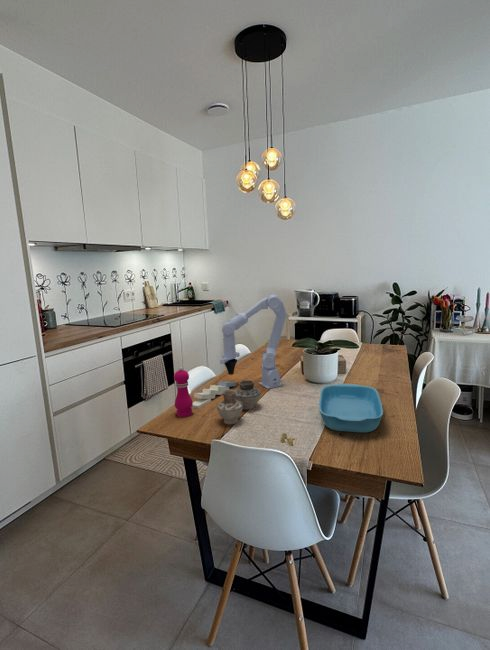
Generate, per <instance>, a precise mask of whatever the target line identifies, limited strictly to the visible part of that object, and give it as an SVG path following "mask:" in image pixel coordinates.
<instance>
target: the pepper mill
mask: <svg viewBox="0 0 490 650" xmlns="http://www.w3.org/2000/svg"><path fill="white" fill-rule="evenodd" d="M189 379H190V374H189V372H188V371H187V370H184V367H182V366H180V367H178V370H177V371H175V373H174V375H173V380H174V382H175V387H176V389H177V390H176V392H177V393H176V396H175V399H174V408H175V409H176V416H177V417H178V416H179V418H186V417H190V416H192V414H193V408H192V405H193V402H194V401H193V398H192V397H191V395H190V393H189V388H188V386H189Z"/></svg>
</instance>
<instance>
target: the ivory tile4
mask: <svg viewBox="0 0 490 650" xmlns="http://www.w3.org/2000/svg"><path fill="white" fill-rule="evenodd" d="M193 398H196V399H211V400H212V399H215V398H216V394H206V393H202V392H194V393H193Z"/></svg>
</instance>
